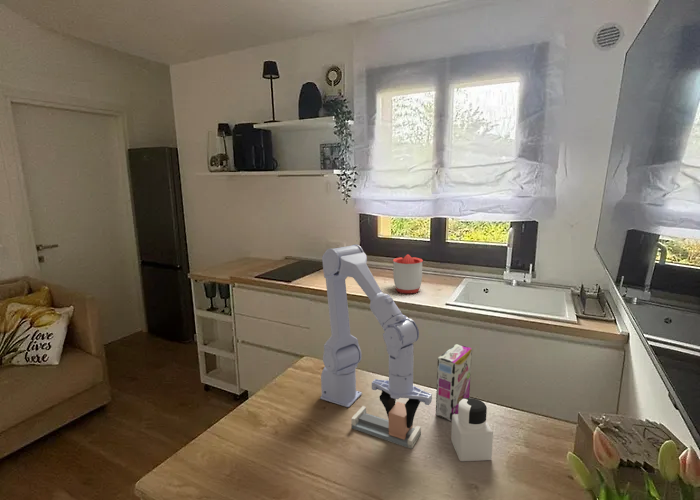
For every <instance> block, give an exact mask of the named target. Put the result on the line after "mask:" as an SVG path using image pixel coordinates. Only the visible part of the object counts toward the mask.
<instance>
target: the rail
mask: <svg viewBox="0 0 700 500" xmlns="http://www.w3.org/2000/svg"><path fill="white" fill-rule="evenodd" d="M351 429H353V430H356V431H359V432H362V433H364V434H368V435H370V436H373V437H377V438H379V439H381V440H385V441H387V442H391V443H393V444H396V445H398V446H402V447H404V448H408V449H410V450H411V449H413V447H414V446H415V444H416V443H417V442H418V439H419V438H420V436H421V433H422V427H421V426H419V425H416V426H415V427H412V429H409V431H408V432H407V434H406V438H405V440H403V439H400V438H397V437H394V436H391V435H389V419H385V418H383V417H379V416H377V415H373V414H369V413H367V406H365V405H362V406H361V407H360V408H359V409H358V410H357V412H356V413H354V414H353V416H352V417H351Z"/></svg>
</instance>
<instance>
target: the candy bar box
mask: <svg viewBox="0 0 700 500" xmlns="http://www.w3.org/2000/svg"><path fill="white" fill-rule="evenodd" d="M472 355H473V348H472V347H469V346H464V345H461V344H457V343H456V344H454V345H453V346H452V347H450V348H449V349H447V351H445V352H444V353H442V354H441V355H439V356H438V357H437V369H436V372H437V373H436V393H435V394H436V397H435V416H437V417H439V418H442V419H444V420H445V421H446V420H447V421H449V422H451V423H452V415H453V414H458V408H459V402H460V401H461V400H462V399H464V398H470V391H471V375H472V374H471V372H472V357H473V356H472Z"/></svg>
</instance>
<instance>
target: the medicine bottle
mask: <svg viewBox="0 0 700 500" xmlns="http://www.w3.org/2000/svg"><path fill="white" fill-rule="evenodd" d="M487 409H488V408H487V405H486V404H485V402H483V401H482V400H480V399H477V398H476V397H475V398H473V397H469V398H464V399H462V400H461V401H460V402H459V408H458V414H453V415H452V422H451V435H450V436H451V437H450V438H451V439H450V440H451V443H452V446H453V448H454V450H455V453H456V455H457V457H458V460H459V461H460V462H477V461H480V462H481V461H491V460H492V459H493V457H492V456H493V440H494V439H493V438H494V432H493V429H492V428H491V426H490V425H489V423H488V421H487V411H488V410H487Z"/></svg>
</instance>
